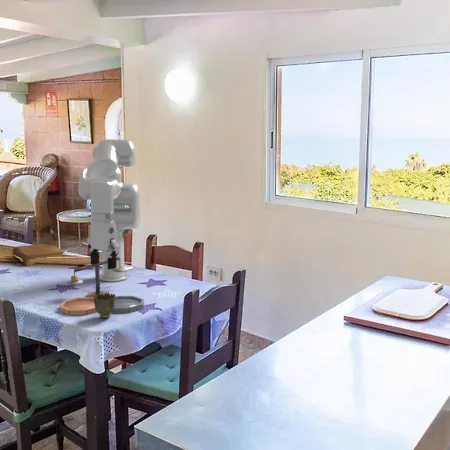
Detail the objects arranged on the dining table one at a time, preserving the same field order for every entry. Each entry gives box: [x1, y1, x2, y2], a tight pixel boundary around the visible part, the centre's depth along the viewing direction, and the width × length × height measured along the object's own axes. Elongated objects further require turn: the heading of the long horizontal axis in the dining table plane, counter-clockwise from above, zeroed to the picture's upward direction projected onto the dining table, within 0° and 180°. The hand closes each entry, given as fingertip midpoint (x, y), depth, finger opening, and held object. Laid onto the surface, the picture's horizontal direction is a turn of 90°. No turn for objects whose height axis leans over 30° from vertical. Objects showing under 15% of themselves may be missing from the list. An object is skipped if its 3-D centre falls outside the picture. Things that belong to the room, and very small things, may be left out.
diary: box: [12, 242, 65, 267], centre depth 269 cm, size 23×19×6 cm
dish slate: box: [110, 295, 145, 314], centre depth 199 cm, size 15×15×2 cm
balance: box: [66, 257, 129, 298], centre depth 208 cm, size 23×8×16 cm, turn 99°
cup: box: [94, 292, 116, 320], centre depth 186 cm, size 8×7×8 cm
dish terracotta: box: [59, 297, 98, 316], centre depth 196 cm, size 15×15×2 cm
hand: (103, 266), depth 184 cm, fingers open, 9 cm apart
